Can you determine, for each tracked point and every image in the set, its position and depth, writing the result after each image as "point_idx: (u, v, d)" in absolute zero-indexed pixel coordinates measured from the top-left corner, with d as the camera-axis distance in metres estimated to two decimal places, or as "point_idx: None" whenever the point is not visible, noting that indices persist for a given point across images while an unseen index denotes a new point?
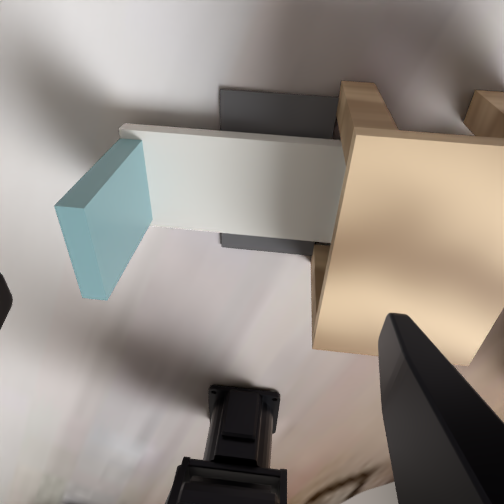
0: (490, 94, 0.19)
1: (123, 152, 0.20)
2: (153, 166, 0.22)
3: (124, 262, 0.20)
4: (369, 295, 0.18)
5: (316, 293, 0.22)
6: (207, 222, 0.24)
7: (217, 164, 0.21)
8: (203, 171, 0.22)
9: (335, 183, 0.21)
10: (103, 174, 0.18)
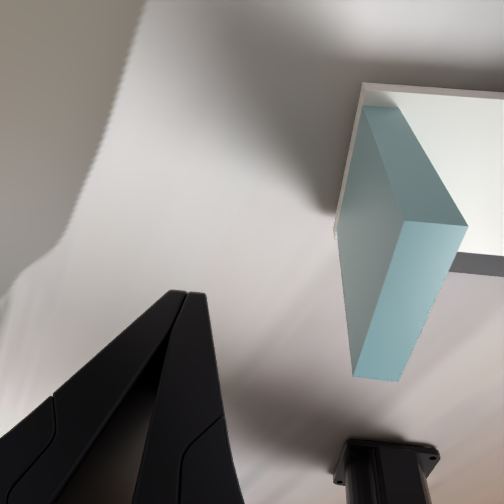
0: None
1: (396, 125, 0.12)
2: None
3: None
4: None
5: None
6: None
7: None
8: (482, 159, 0.14)
9: None
10: (413, 160, 0.10)
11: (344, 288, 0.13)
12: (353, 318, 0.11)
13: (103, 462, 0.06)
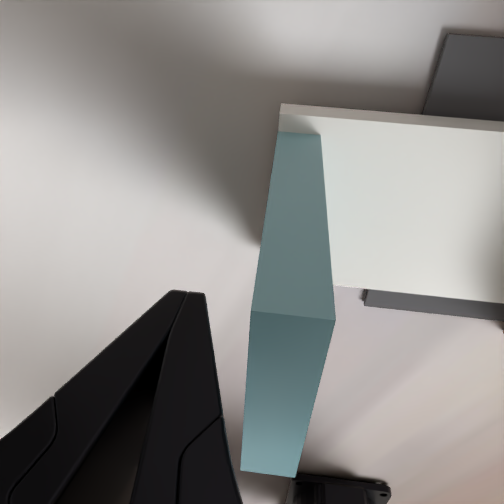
0: None
1: (307, 159, 0.10)
2: (329, 183, 0.12)
3: None
4: None
5: None
6: (395, 277, 0.14)
7: (453, 182, 0.12)
8: (421, 193, 0.12)
9: None
10: (306, 210, 0.08)
11: None
12: None
13: (104, 462, 0.06)
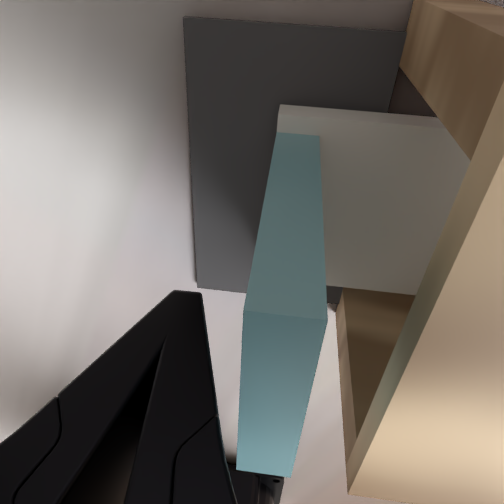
0: None
1: (304, 160, 0.10)
2: (327, 184, 0.12)
3: None
4: (477, 429, 0.09)
5: (353, 385, 0.13)
6: (394, 278, 0.14)
7: (452, 183, 0.12)
8: (420, 194, 0.12)
9: None
10: (302, 211, 0.08)
11: None
12: None
13: (108, 463, 0.06)
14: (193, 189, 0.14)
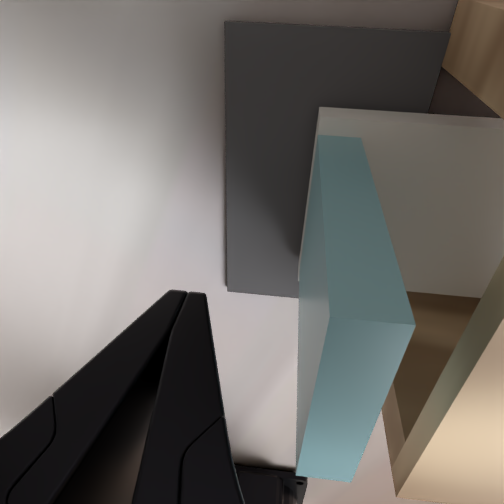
0: None
1: (352, 162, 0.10)
2: None
3: None
4: None
5: (395, 386, 0.12)
6: (430, 278, 0.14)
7: (494, 182, 0.11)
8: (461, 194, 0.12)
9: None
10: (362, 214, 0.08)
11: (298, 350, 0.11)
12: (299, 397, 0.09)
13: (103, 462, 0.06)
14: (227, 193, 0.14)
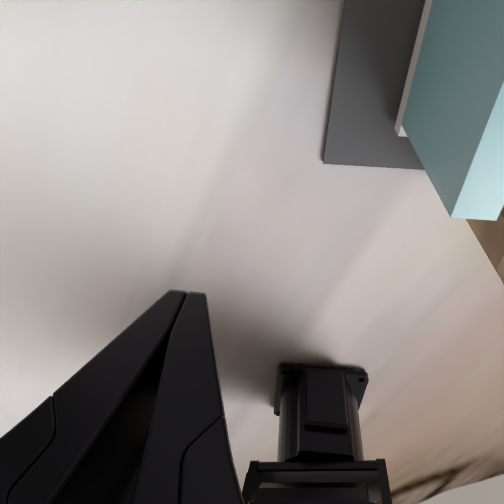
0: None
1: None
2: None
3: None
4: None
5: None
6: None
7: None
8: None
9: None
10: None
11: (424, 158, 0.13)
12: (445, 168, 0.11)
13: (103, 462, 0.06)
14: (339, 56, 0.16)
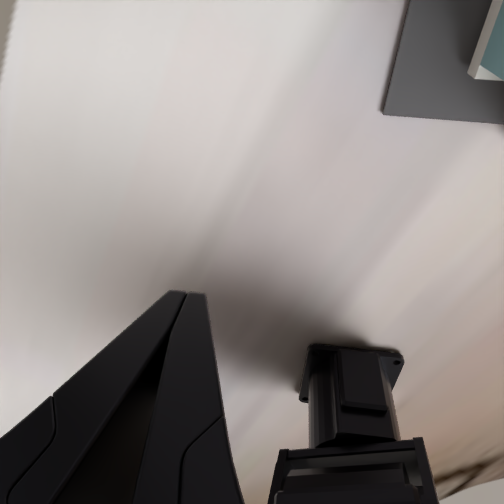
0: None
1: None
2: None
3: None
4: None
5: None
6: None
7: None
8: None
9: None
10: None
11: None
12: None
13: (103, 462, 0.06)
14: None
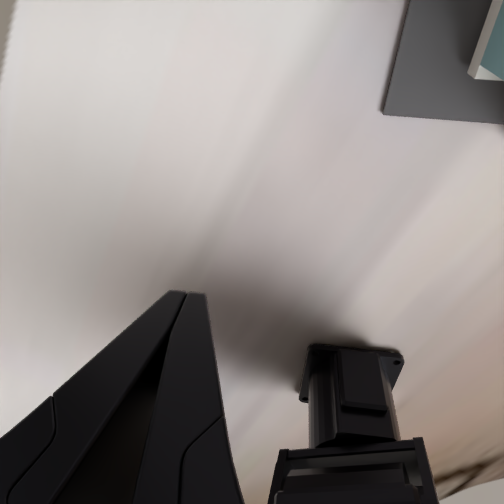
0: None
1: None
2: None
3: None
4: None
5: None
6: None
7: None
8: None
9: None
10: None
11: None
12: None
13: (103, 462, 0.06)
14: None
